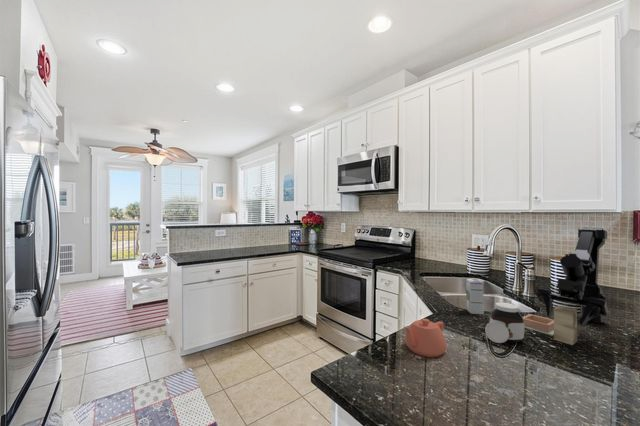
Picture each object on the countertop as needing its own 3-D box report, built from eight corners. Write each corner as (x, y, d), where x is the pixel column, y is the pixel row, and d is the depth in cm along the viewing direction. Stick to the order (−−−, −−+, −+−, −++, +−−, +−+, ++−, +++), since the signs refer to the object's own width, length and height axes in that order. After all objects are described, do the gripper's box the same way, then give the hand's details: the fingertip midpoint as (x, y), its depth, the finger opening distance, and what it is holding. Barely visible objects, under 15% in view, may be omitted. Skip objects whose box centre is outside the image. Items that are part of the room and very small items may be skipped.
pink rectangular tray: (527, 319, 118) (527, 312, 118) (563, 328, 108) (563, 321, 108) (514, 324, 111) (514, 317, 111) (552, 335, 101) (552, 327, 101)
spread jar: (521, 336, 100) (521, 304, 100) (529, 350, 90) (529, 314, 90) (482, 330, 105) (482, 299, 105) (486, 342, 95) (486, 308, 95)
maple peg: (558, 336, 101) (558, 305, 101) (577, 341, 97) (577, 309, 97) (553, 339, 98) (553, 308, 98) (572, 345, 94) (572, 312, 94)
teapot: (458, 351, 88) (459, 321, 88) (418, 365, 79) (418, 332, 80) (427, 337, 99) (427, 310, 99) (388, 347, 90) (389, 318, 90)
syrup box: (484, 314, 122) (484, 281, 123) (469, 313, 124) (469, 280, 124) (479, 310, 128) (479, 278, 128) (465, 309, 129) (465, 278, 129)
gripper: (537, 266, 108) (525, 299, 101) (605, 275, 92) (596, 315, 86) (545, 284, 112) (534, 317, 106) (611, 296, 97) (603, 335, 90)
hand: (564, 320), depth 97 cm, fingers open, 9 cm apart
